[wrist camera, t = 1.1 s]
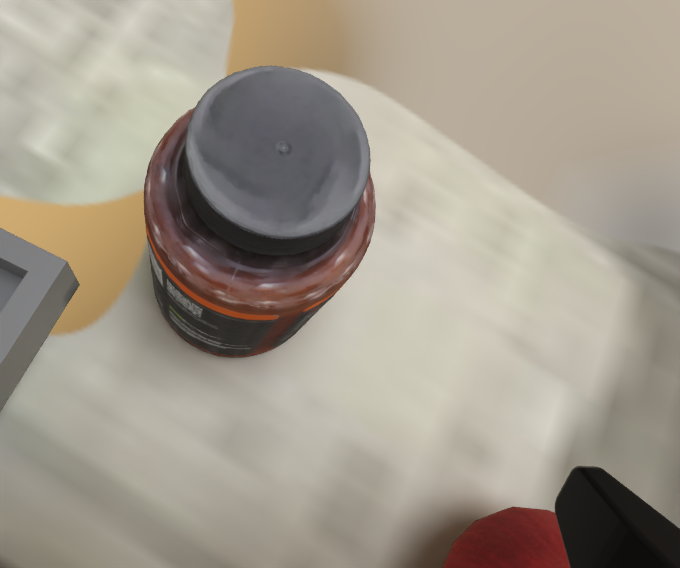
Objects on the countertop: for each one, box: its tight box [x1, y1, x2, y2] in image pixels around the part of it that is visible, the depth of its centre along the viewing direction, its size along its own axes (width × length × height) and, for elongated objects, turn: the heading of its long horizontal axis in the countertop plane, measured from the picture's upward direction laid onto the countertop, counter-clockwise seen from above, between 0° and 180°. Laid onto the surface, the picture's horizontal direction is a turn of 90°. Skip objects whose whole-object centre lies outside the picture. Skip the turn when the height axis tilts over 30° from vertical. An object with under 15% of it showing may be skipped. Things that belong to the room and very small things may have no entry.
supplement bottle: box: [144, 66, 376, 357], centre depth 19 cm, size 6×6×11 cm
